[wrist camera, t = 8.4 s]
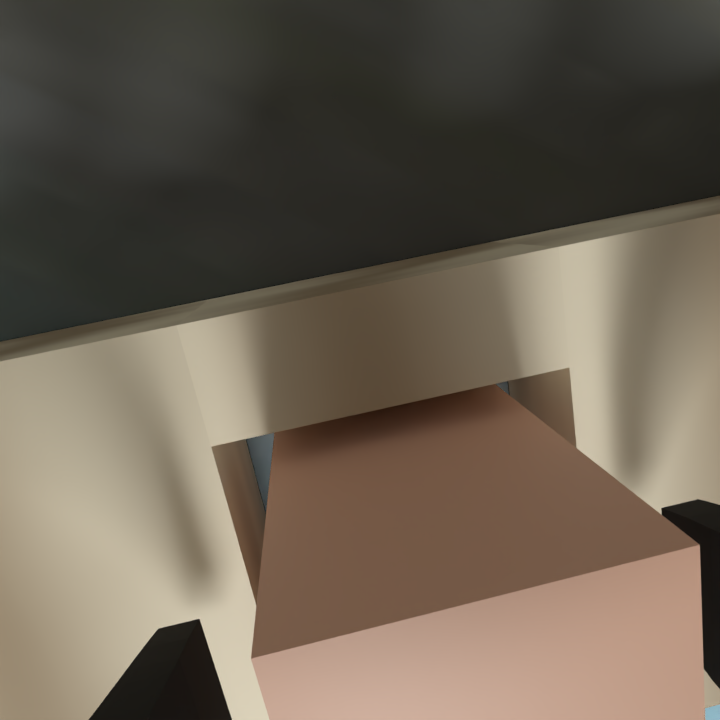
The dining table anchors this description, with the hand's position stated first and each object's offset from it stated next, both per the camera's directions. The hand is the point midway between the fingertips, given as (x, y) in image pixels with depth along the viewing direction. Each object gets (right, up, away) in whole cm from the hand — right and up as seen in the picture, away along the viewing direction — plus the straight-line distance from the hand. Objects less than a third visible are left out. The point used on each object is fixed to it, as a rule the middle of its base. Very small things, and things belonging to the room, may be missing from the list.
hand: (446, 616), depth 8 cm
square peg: (-1, +1, +4) cm, 5 cm away
